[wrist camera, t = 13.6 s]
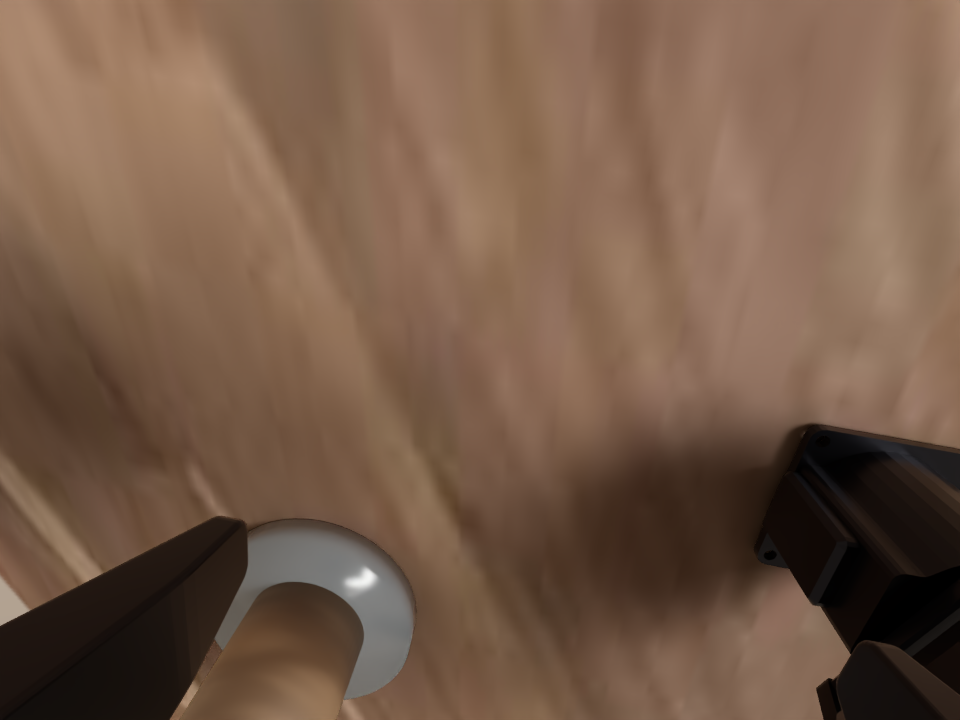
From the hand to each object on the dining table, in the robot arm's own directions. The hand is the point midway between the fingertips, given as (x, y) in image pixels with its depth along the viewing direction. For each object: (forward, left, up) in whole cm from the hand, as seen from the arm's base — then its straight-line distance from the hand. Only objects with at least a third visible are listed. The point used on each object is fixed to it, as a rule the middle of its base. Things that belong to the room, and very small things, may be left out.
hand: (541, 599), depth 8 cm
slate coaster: (+8, +16, -13) cm, 22 cm away
